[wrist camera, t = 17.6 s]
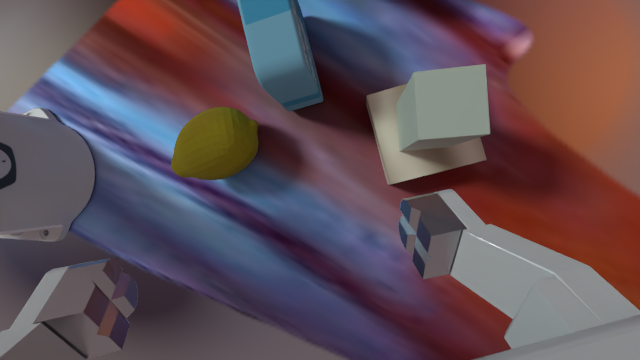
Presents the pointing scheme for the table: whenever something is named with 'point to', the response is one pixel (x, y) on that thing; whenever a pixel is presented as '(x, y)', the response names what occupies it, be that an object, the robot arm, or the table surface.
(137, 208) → the table surface
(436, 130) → the sage block
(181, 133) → the lemon
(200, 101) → the table surface
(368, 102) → the birch block
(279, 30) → the blue rounded box
